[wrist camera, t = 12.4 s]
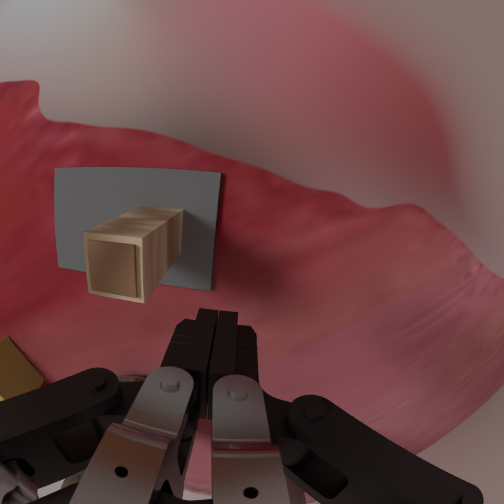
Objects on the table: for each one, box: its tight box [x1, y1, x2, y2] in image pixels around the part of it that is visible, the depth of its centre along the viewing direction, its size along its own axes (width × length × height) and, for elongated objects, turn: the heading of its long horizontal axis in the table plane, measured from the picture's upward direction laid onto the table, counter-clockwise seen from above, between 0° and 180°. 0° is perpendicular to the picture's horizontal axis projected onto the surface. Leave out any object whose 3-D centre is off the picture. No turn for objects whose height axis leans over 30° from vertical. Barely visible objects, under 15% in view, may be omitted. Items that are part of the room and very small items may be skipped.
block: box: [84, 206, 184, 303], centre depth 19 cm, size 4×4×10 cm
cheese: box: [0, 336, 44, 401], centre depth 27 cm, size 10×11×10 cm
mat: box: [54, 167, 221, 291], centre depth 24 cm, size 18×11×1 cm, turn 83°
